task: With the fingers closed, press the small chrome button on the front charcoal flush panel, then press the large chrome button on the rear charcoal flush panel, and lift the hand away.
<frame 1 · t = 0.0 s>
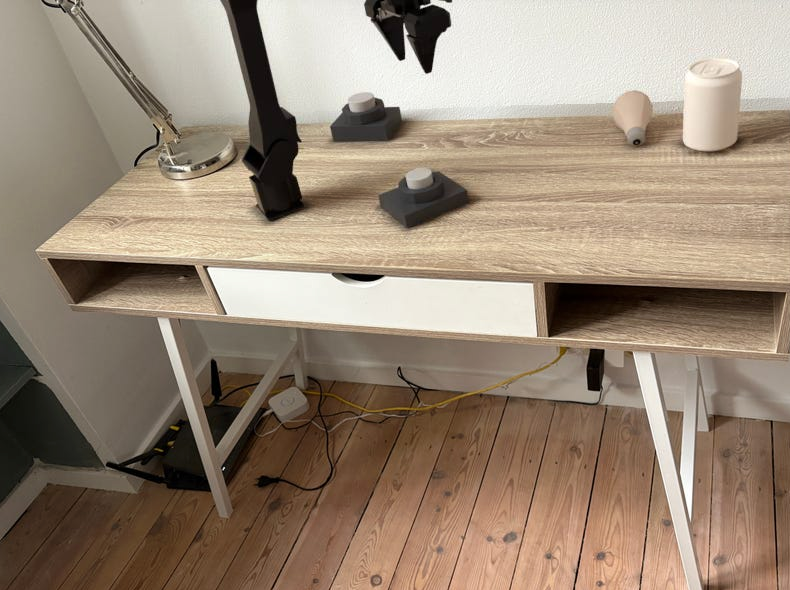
hand: (415, 66, 134), 15 cm above the table, tool pointing down, fingers open, 9 cm apart
light bulb: (633, 136, 135), on the table
small button: (419, 179, 125), point 4 cm above the table, slide at 0.1 cm
half flush panel: (424, 205, 128), on the table
full flush panel: (368, 131, 153), on the table
beverage can: (709, 143, 129), on the table
large button: (361, 102, 150), point 6 cm above the table, slide at 0.1 cm
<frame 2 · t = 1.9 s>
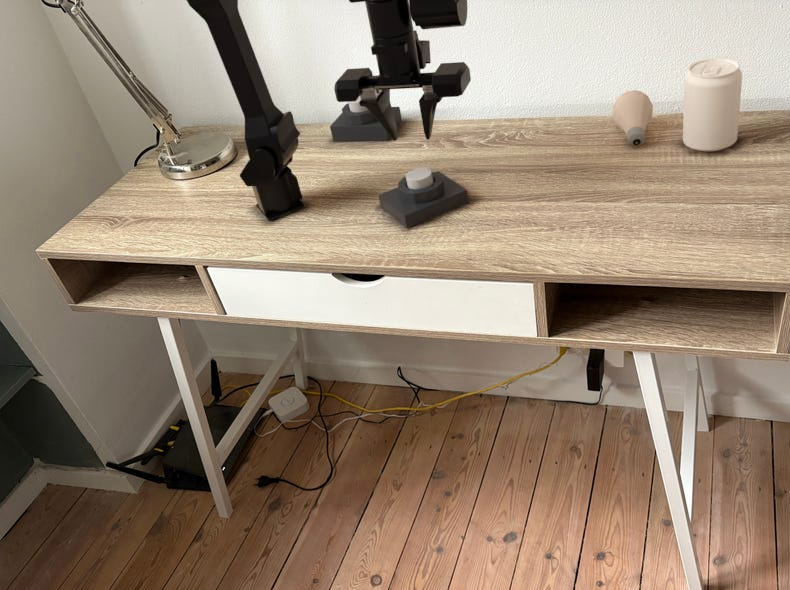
hand: (412, 138, 121), 11 cm above the table, tool pointing down, fingers open, 5 cm apart
nothing on the table moved.
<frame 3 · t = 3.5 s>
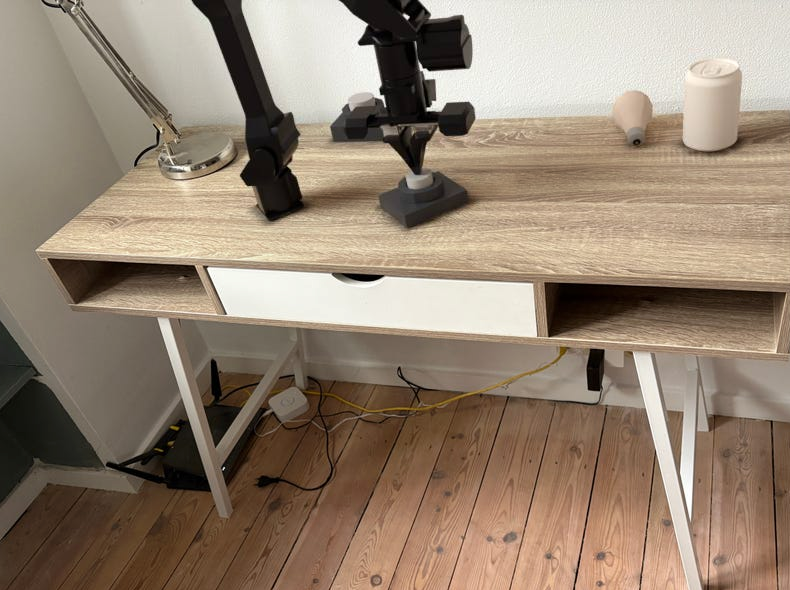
hand: (418, 173, 124), 5 cm above the table, tool pointing down, fingers closed, pressing on small button
small button: (419, 179, 125), point 4 cm above the table, slide at 0.1 cm, touching gripper
everything else where it was.
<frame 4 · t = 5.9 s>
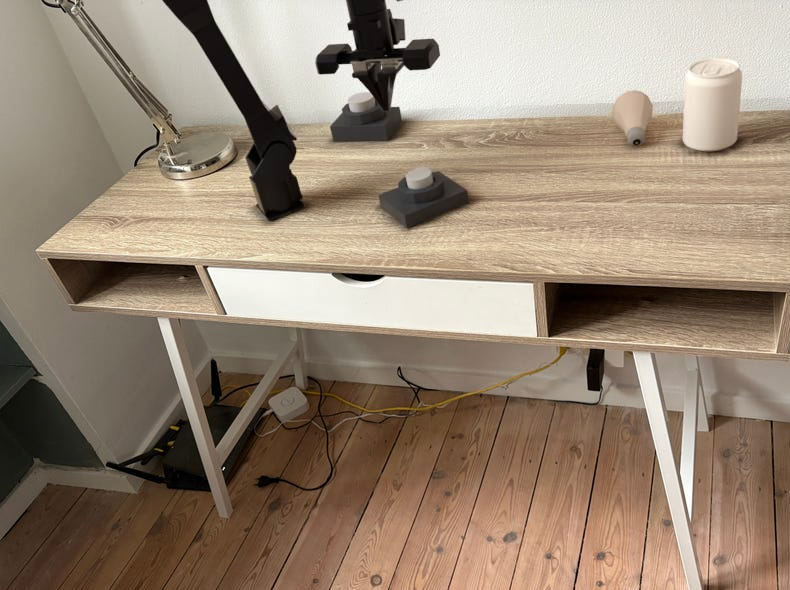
hand: (387, 110, 131), 11 cm above the table, tool pointing down, fingers closed
small button: (419, 179, 125), point 4 cm above the table, slide at 0.1 cm
everything else where it was.
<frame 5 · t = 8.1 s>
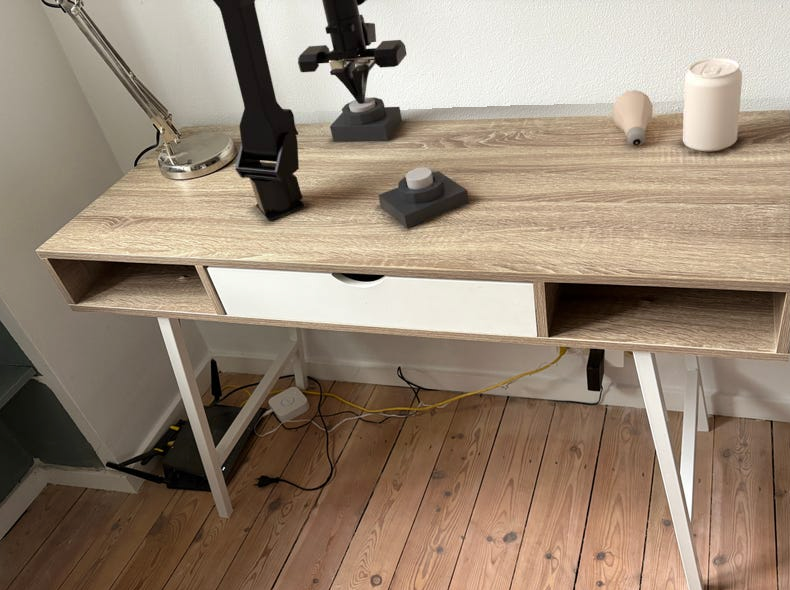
hand: (361, 102, 150), 6 cm above the table, tool pointing down, fingers closed, pressing on large button
large button: (363, 108, 151), point 5 cm above the table, slide at -0.9 cm, touching gripper
everything else where it was.
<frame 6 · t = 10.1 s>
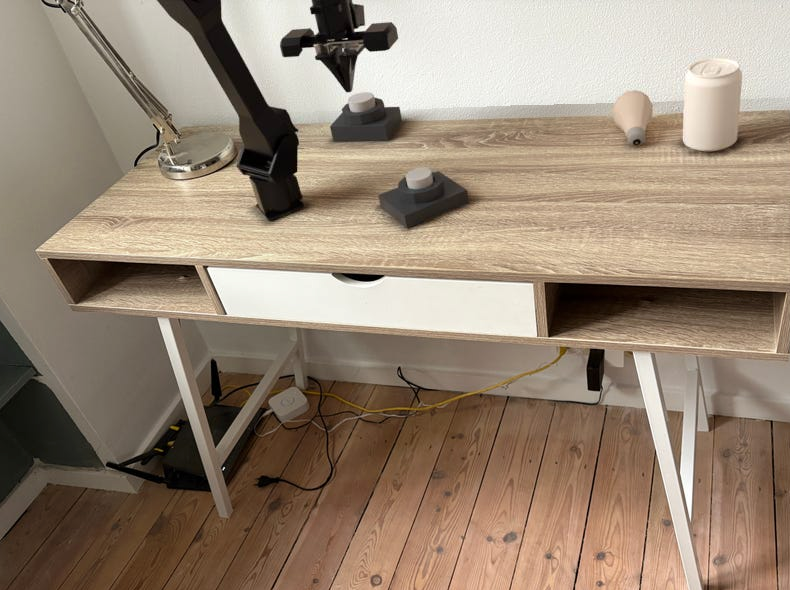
hand: (349, 91, 138), 12 cm above the table, tool pointing down, fingers closed
large button: (361, 102, 150), point 6 cm above the table, slide at 0.1 cm
everything else where it was.
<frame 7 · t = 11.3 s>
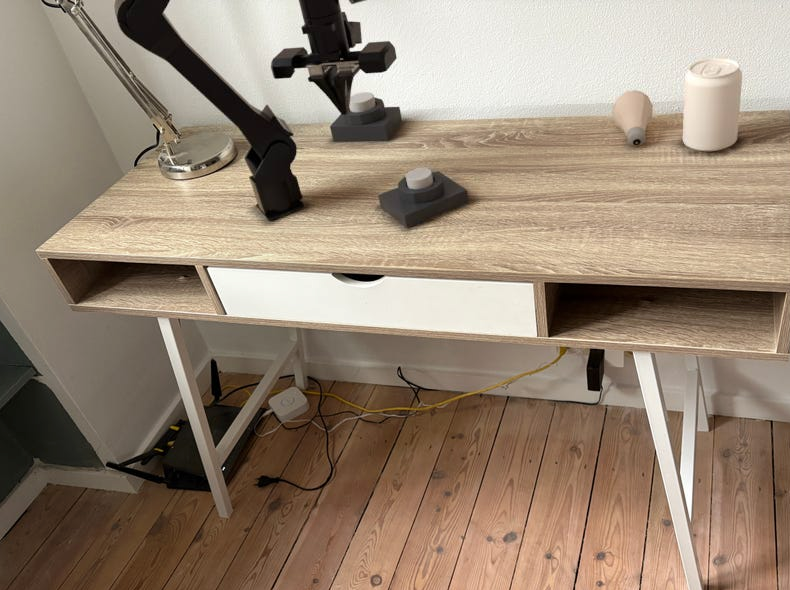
hand: (345, 113, 130), 12 cm above the table, tool pointing down, fingers closed
nothing on the table moved.
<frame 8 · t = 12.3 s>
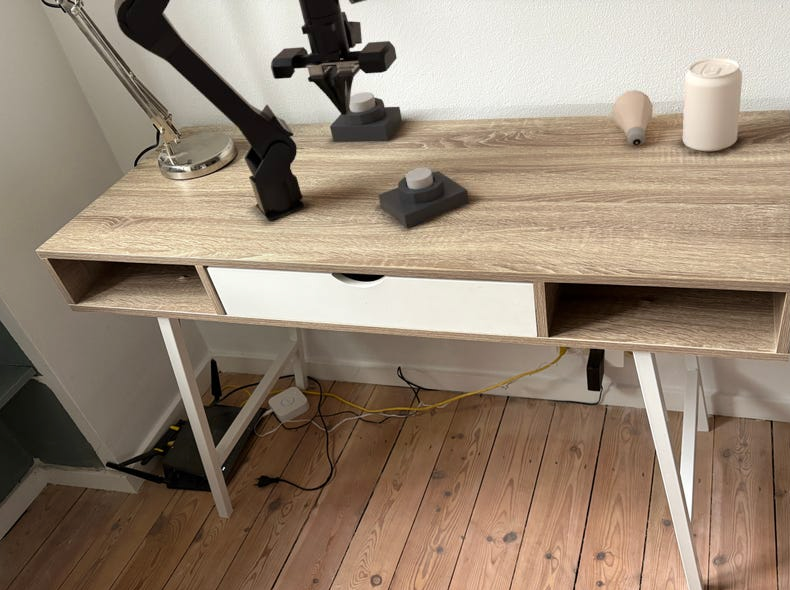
hand: (345, 113, 130), 12 cm above the table, tool pointing down, fingers closed
nothing on the table moved.
at the end: small button pushed in 1.1 cm at the most during the clip, back to where it started at the end; large button pushed in 1.3 cm at the most during the clip, back to where it started at the end; large button slide at 0.1 cm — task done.
